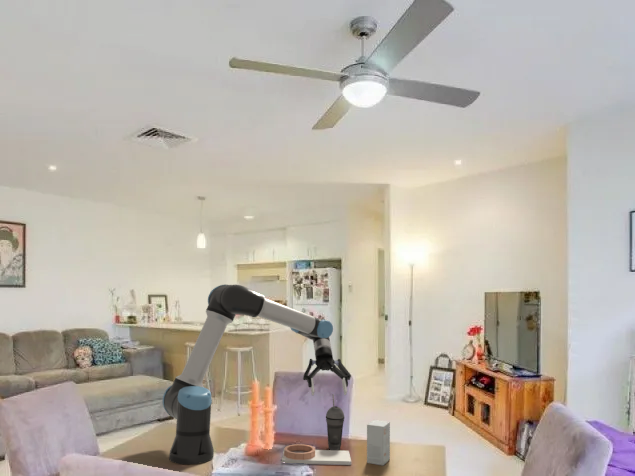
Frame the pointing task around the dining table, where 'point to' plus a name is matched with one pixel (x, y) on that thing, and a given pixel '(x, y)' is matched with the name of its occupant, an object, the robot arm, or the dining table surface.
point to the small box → (378, 442)
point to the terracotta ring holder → (299, 452)
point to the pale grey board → (324, 458)
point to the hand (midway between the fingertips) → (329, 393)
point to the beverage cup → (334, 426)
